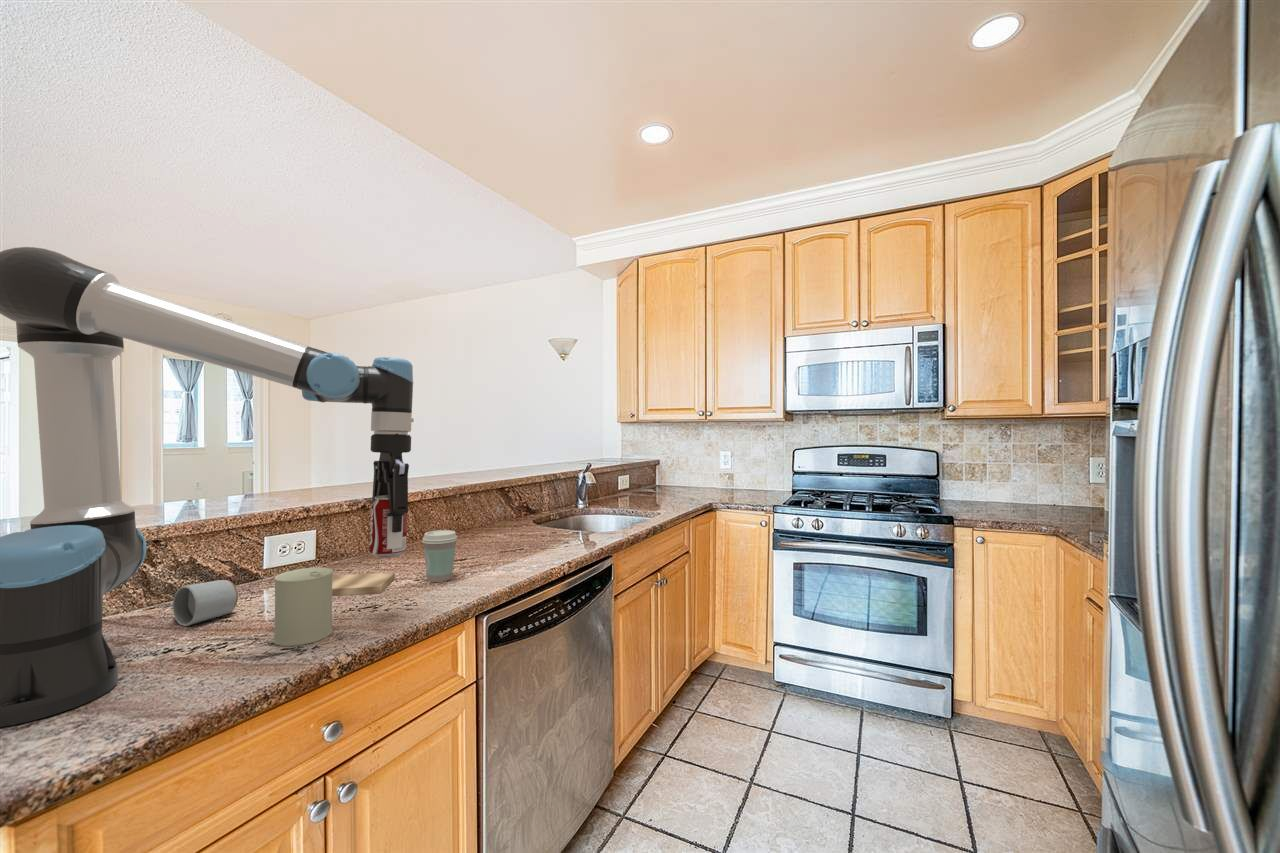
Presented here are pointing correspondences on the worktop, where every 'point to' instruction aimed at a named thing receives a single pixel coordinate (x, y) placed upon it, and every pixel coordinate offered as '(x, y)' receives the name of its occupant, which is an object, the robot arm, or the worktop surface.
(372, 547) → the soda can
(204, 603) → the grey hollow cylinder
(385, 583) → the cutting board
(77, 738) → the worktop surface
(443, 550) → the coffee cup
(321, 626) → the can
